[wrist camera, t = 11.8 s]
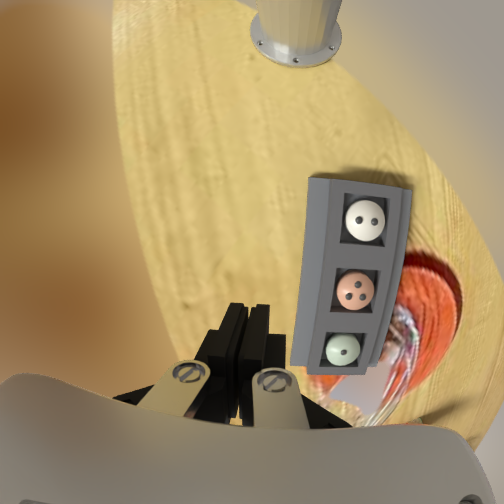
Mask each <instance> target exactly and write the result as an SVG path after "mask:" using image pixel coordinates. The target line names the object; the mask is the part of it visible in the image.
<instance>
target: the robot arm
mask: <svg viewBox="0 0 504 504" xmlns="http://www.w3.org/2000/svg"><path fill="white" fill-rule="evenodd" d="M341 2H342V0H256V5H257V10H258V13H257V14H256V15H255V17H254V18H253V20H252V22H251V27H250V34H251V39H252V42H253V44H254V46H255V47H256V49H257V50H258V51H259V52H260V53H261V54H262V55H263V56H264V57H266V58H267V59H269V60H271V61H273V62H275V63H278V64H280V65H284V66H288V67H295V68H307V67H313V66H317V65H320V64H323V63H325V62H326V61H328V60H330V59H331V58H332V57H333V56H334V55H335V54H336V52H337V51H338V49H339V47H340V44H341V39H342V35H341V30H340V27H339V25H338V23H337V22H336V19H337V15H338V12H339V9H340V6H341ZM330 49H331V50H330ZM295 62H298V63H295ZM269 312H270V305H265V304H257V306H256V307H252V308H251V312H250V316H249V319H248V307H244V304H243V303H230V305H229V307H228V309H227V312H226V314H225V316H224V318H223V321H222V323H221V325H220V327H219V330H212V329H210V330H209V331H208V333H207V335H206V337H205V339H204V341H203V343H202V345H201V347H200V348H199V350H198V352H197V354H196V356H195V358H194V360H184V361H180V362H177V363H175V364H174V365H172V366H171V367H170V368H169V369H168V370H167V372H166V373H165V374H164V375H163V376H162V377H161V379H160V380H159V381H158V382H157V383H156V384H155V385H152V386H148V387H146V388H142V389H139V390H135V391H132V392H129V393H125V394H122V395H118V396H116V397H113V398H108V397H106V396H103V395H100V394H97V393H94V392H91V391H88V390H86V389H83V388H81V387H78V386H75V385H72V384H69V383H66V382H64V381H62V380H59V379H56V378H52V377H49V376H44V375H40V374H32V373H22V374H15V375H13V376H11V377H9V378H8V379H6V380H5V381H3V382H2V383H1V384H0V504H496V500H495V497H494V495H493V492H492V489H491V486H490V484H489V481H488V479H487V477H486V474H485V473H484V470H483V468H482V466H481V464H480V462H479V460H478V458H477V456H476V455H475V453H474V451H473V450H472V448H471V447H470V445H469V444H468V443H467V441H466V440H465V439H464V438H463V437H462V436H461V435H460V434H459V433H457V432H456V431H454V430H452V429H450V428H446V427H442V426H438V425H429V424H390V425H380V426H367V427H363V426H361V427H352V426H351V425H350V424H349V423H347V422H346V421H344V420H342V419H341V418H339V417H337V416H336V415H334V414H332V413H331V412H329V411H327V410H326V409H324V408H322V407H321V406H319V405H318V404H316V403H315V402H313V401H311V400H310V399H308V398H307V397H305V396H304V395H302V394H301V393H300V389H299V385H298V382H297V379H296V377H295V375H294V374H293V373H291V372H290V371H288V370H286V369H285V355H286V334H269ZM238 406H239V417H240V419H242V425H243V426H240V425H231V424H229V423H230V419H231V418H236V415H237V410H238Z"/></svg>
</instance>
